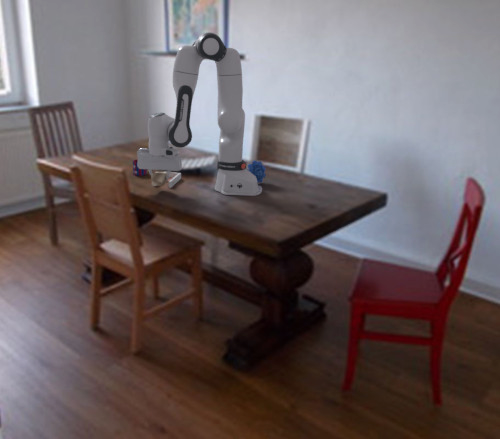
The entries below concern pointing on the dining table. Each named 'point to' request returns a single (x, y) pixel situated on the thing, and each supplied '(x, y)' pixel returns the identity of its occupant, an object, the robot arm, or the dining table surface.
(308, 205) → the dining table surface
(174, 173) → the white u-shaped frame
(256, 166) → the grapes
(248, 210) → the dining table surface
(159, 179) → the block
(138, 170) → the mug
